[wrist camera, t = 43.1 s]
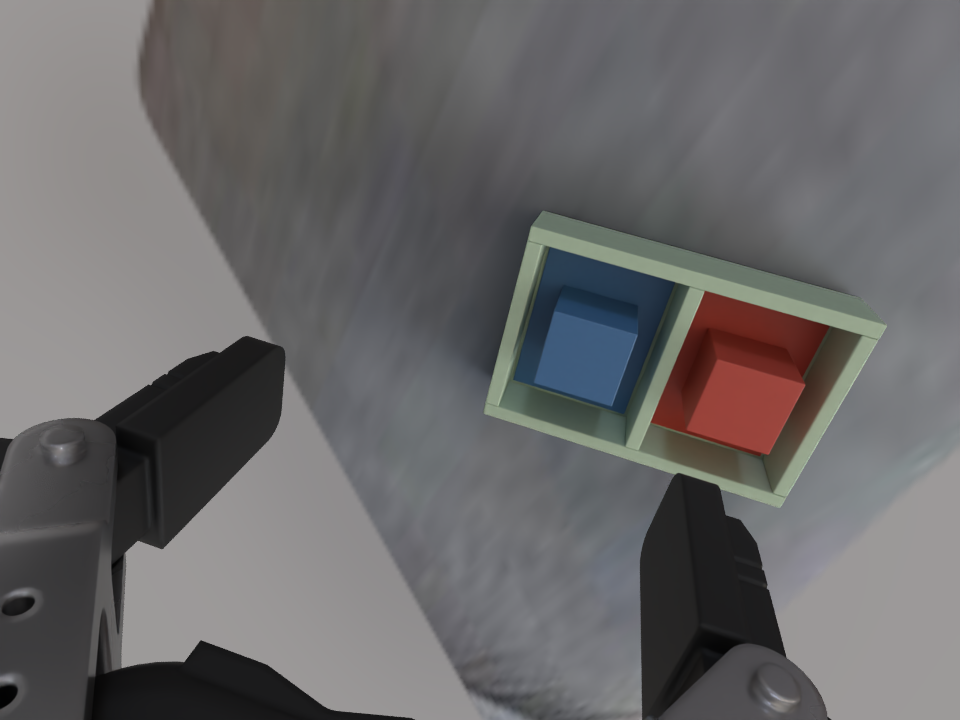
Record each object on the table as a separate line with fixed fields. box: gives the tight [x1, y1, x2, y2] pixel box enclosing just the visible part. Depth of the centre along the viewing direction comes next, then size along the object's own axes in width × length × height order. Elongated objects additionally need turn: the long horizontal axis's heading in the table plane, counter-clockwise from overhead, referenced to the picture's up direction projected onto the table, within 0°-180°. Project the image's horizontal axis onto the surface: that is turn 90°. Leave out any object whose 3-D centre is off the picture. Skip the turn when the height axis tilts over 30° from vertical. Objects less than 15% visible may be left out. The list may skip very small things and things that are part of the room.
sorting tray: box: [483, 211, 887, 508], centre depth 34 cm, size 18×12×4 cm, turn 78°
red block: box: [681, 328, 805, 455], centre depth 33 cm, size 4×4×4 cm
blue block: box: [534, 285, 638, 406], centre depth 34 cm, size 4×4×4 cm
